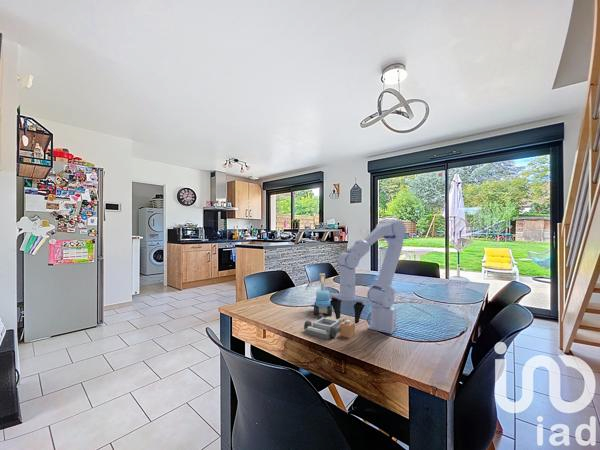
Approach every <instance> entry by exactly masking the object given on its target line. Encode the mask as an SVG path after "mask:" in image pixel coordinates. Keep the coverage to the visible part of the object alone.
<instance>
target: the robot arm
mask: <svg viewBox="0 0 600 450" xmlns="http://www.w3.org/2000/svg"><path fill="white" fill-rule="evenodd" d="M406 231H407V228H406V226H405V223H404V221H402V220H400V219H397V220H381V221H380V222H379V223H377V224H376V226H375V228H374V229H373V230H372V231H371V232H370V233H369V234H368V235H367V236H366V237H365V238H364V239H359V240H355V241H354V244H353V245H352V246H350V247H348V248H347V249H346V251H344V252H341V253H340V254H339V255H338V257H337V259H336V263H337V265H338V269H339V293H338V292H337V293H336V292H335V293H334V292H329V299H330V303H331V305H332V310H333V311H334V315H335V318H336V319H341V308H342V307H341V306H342V301H343V302H344V301H345V302H349V303H355V304H353V309H354V323H355V325H356V324H359V323H360V317H361V316H362V311H363V310H364V307H365V306H366V305H368V301H369V304H370V308H371V309H370V313H371V314H370V317H371V318H370V319H371V320H370V324H369V325H368V326H367V329H368V330H373V331H378V332H383V333H386V334H391V335H392V334H393V333H394V332H395V331H396V329H397V328H398V327H397V309H396V308H394V307H393V305H394V303H395V292H396V290H395V288H394V286H393V285H392V283H393V279H394V276H395V272H396V270H397V267H398V262H399V259H400V256H401V254H402V249H403V247H404V238H405V235H406ZM381 238H383V239H384V240H385V241H386V242H387V249H386V250H385V251H386V252H385V255H384V257H383V262H382V264H381V268H380V271H379V274H378V277H377V280H375V281H373V282H372V283H371V286H370V288H369V289H368V290H367V293H366V297H367V298H365V297H362V296H358V295H356V268H357V267H358V266H359V264H360V260H361V259H362V258H363V257H365V256H366V254H368V253H369V252H370V249H371V248H370V247H371V246H373V245H374V244H375V243H376V242H377V241H379V240H380V239H381Z"/></svg>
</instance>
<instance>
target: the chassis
mask: <svg viewBox="0 0 600 450" xmlns="http://www.w3.org/2000/svg"><path fill="white" fill-rule="evenodd" d="M345 320H347V319H345V318H343V319H341V318H339V319H336V317H333V316H330V315H327V316H326V317H325V315H324V313H318V315H317V319H316V320H315V321H313V322H311V320H305V322H304V324H303V329H304V334H306V333H307V334H306V335H311V336H314V337H317V338H321V339H325V340H329V339H331V338H334V339H335V338H336V336H337V334H338V333H339V332H340V323H342V322H343V321H345ZM312 323H313V324H312Z"/></svg>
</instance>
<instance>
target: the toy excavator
mask: <svg viewBox="0 0 600 450" xmlns="http://www.w3.org/2000/svg"><path fill="white" fill-rule="evenodd" d="M318 275H319V276H318V277H319V280H318V282H319V283H320V289H321V290H317V291H316V295H315V302H314V305H313V315H314V316H315V315H316V316H318V315H319V314H327V316H332V315H333V306H332V305H331V303H330V301H331V299H329V294H330V291H329V290H325V283H326V273H319V274H318Z"/></svg>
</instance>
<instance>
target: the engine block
mask: <svg viewBox="0 0 600 450" xmlns="http://www.w3.org/2000/svg"><path fill="white" fill-rule="evenodd" d="M342 321H343V320H342ZM355 326H356V323H355V321H354V322H353V321H351V320H350V319H346V320H345V321H343V322H342V323H340V331H339V332H340V333H339V334H340V335H339V336H341V337H345V338H348V339H350V338H352V337H354V336H355Z"/></svg>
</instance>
